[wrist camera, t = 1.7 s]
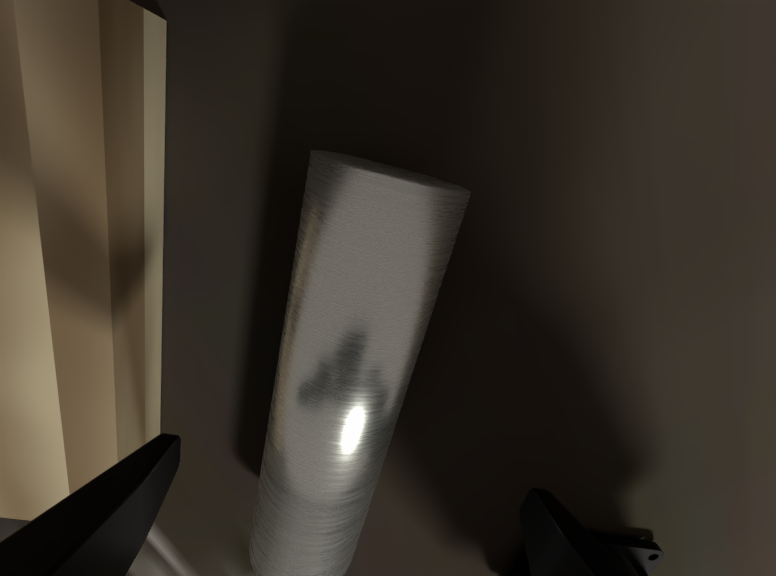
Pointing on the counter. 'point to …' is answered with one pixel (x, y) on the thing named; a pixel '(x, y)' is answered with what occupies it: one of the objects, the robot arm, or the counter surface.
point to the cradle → (78, 242)
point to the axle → (347, 353)
